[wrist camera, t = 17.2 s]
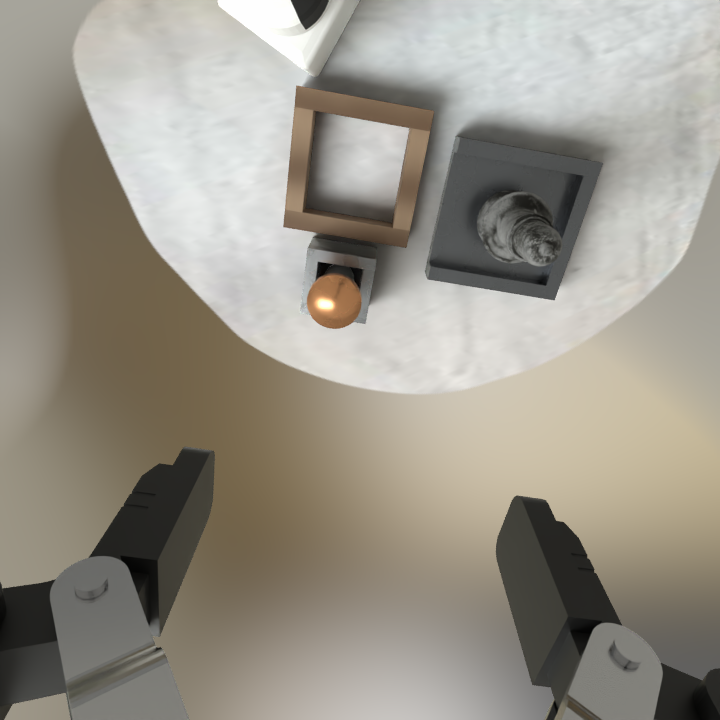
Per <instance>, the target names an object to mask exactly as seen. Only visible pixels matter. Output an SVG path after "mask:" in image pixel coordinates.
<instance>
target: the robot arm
mask: <svg viewBox="0 0 720 720" xmlns="http://www.w3.org/2000/svg"><path fill="white" fill-rule="evenodd" d="M214 461H215V455H214V451H211V450H204V449H197V448H191V447H184V448H183V449H182V451H181V453H180V454H179V456H178V457H177V459H176V461H175V463H174V464H173V465H166V464H158V465H157V466H155V467H154V468H152V469H151V470H149V471H148V472H147V473H145V474H144V475H142V477H141V478H140V480H139V481H138V483H137V485H136V486H135V488H134V489H133V491H132V494H130V495H129V497H128V498H127V500H126V502H125V503H124V506H123V507H122V508H121V509H120V511H119V512H118V514H117V515H116V517H115V518H114V520H113V522H112V523H111V525H110V526H109V528H108V529H107V531H106V532H105V534H104V535H103V537H102V538H101V540H100V542H99V543H98V545H97V546H96V548H95V549H94V551H93V552H92V554H91V555H90V557H89V558H87V559H84V560H81V561H78V562H77V563H75V564H73V565H71V566H70V567H68V568H67V569H65V570H64V571H63V572H62V573H61V574H60V575H59V576H58V577H57V578H56V579H55V580H52V581H48V582H44V583H39V584H32V585H24V586H17V587H10V588H3V589H2V585H1V583H0V720H4V719H5V716H6V715H7V713H8V711H9V710H10V708H11V706H12V704H14V703H19V702H24V701H28V700H33V699H38V698H43V697H47V696H52V695H56V694H61V693H66V697H67V702H68V707H69V712H70V718H71V720H189V717H188V714H187V712H186V709H185V706H184V704H183V701H182V698H181V695H180V693H179V690H178V687H177V684H176V682H175V679H174V676H173V673H172V670H171V667H170V665H169V662H168V660H167V657H166V655H165V653H164V651H163V649H162V648H161V647H160V648H157V647H156V645H155V642H154V640H153V637H152V636H158V637H159V636H160V634H161V632H162V630H163V627H164V625H165V622H166V620H167V618H168V615H169V613H170V610H171V608H172V605H173V603H174V601H175V598H176V596H177V593H178V591H179V589H180V586H181V584H182V581H183V579H184V577H185V574H186V572H187V569H188V567H189V564H190V562H191V560H192V557H193V555H194V552H195V550H196V547H197V545H198V543H199V540H200V538H201V535H202V533H203V530H204V528H205V526H206V523H207V520H208V518H209V515H210V511H211V506H212V501H213V485H214ZM496 557H497V562H498V566H499V569H500V573H501V576H502V580H503V584H504V587H505V590H506V594H507V598H508V601H509V605H510V608H511V612H512V615H513V619H514V622H515V626H516V629H517V633H518V636H519V640H520V643H521V646H522V650H523V654H524V657H525V661H526V664H527V668H528V671H529V675H530V678H531V682H532V685H536V686H545V687H551V689H552V693H553V696H554V700H553V702H552V704H551V705H550V707H549V710H548V712H547V715H546V717H545V719H544V720H720V669H713V670H711V671H710V672H708V674H707V675H706V676H705V677H704V679H703V680H700V679H697V678H695V677H692V676H690V675H688V674H685V673H683V672H681V671H678V670H676V669H673V668H671V667H669V666H667V665H664V664H662V663H660V661H659V659H658V657H657V655H656V654H655V652H654V651H653V649H652V648H651V647H650V646H649V645H648V644H647V643H646V641H645V640H643V639H642V638H641V637H640V636H639V635H637V634H636V633H634V632H633V631H631V630H630V629H628V628H626V627H624V626H622V624H621V622H620V620H619V618H618V616H617V614H616V612H615V610H614V608H613V606H612V604H611V602H610V600H609V598H608V596H607V594H606V592H605V590H604V588H603V586H602V584H601V582H600V580H599V578H598V576H597V574H596V573H594V568H593V566H592V564H591V562H590V560H589V559H587V554H586V552H585V550H584V548H583V546H582V544H581V542H580V540H579V538H578V537H577V536H576V535H575V534H574V533H573V531H572V530H571V529H570V528H569V527H568V526H567V525H566V524H565V523H564V522H559V521H556V520H555V518H554V515H553V514H552V511H551V509H550V507H549V505H548V503H547V502H546V500H543V499H537V498H530V497H523V496H515V497H514V499H513V500H512V502H511V504H510V507H509V510H508V513H507V515H506V517H505V520H504V523H503V525H502V528H501V530H500V533H499V535H498V539H497V544H496Z"/></svg>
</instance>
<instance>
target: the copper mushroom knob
mask: <svg viewBox="0 0 720 720" xmlns="http://www.w3.org/2000/svg"><path fill="white" fill-rule="evenodd" d="M361 303H362V297H361V292H360V289H359V287H358V286H357V284H356V283H355V282H354V274H353V272H352V270H351V269H350V268H349V267H348V266H342V265H336V264H334V265H332V266H330V267H329V268H328V269H327V270H326V272H325V275H323V276H321V277H319V278H318V279H317V280H316V281H315V282H314V283H313V284H312V286H311V288H310V290H309V293H308V296H307V307H308V311H309V313H310V315H311V316H312V318H313V319H314V320H315V321H316V322H317V323H319V324H320V325H322V326H324V327H327V328H333V329H337V328H343V327H346V326H348V325H349V324H351V323H352V322H353V321H354V320H355V319H356V318H357V317H358V315H359V313H360V310H361Z"/></svg>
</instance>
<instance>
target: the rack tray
mask: <svg viewBox="0 0 720 720" xmlns="http://www.w3.org/2000/svg"><path fill="white" fill-rule="evenodd" d="M602 165H603V163H600V162H595V161H589V160H584V159H578V158H573V157H567V156H562V155H556V154H551V153H545V152H540V151H534V150H529V149H523V148H518V147H512V146H507V145H501V144H496V143H490V142H485V141H479V140H474V139H468V138H463V137H457V136H456V137H455V141H454V146H453V150H452V155H451V159H450V164H449V168H448V172H447V177H446V181H445V186H444V190H443V194H442V199H441V203H440V208H439V212H438V217H437V221H436V225H435V230H434V234H433V239H432V243H431V247H430V252H429V256H428V261H427V265H426V270H425V273H426V276H427V279H429V280H435V281H441V282H447V283H453V284H459V285H465V286H472V287H478V288H484V289H490V290H496V291H502V292H508V293H514V294H520V295H526V296H532V297H538V298H544V299H550V300H555V297H556V295H557V292H558V289H559V286H560V283H561V280H562V278H563V275H564V272H565V269H566V266H567V263H568V261H569V258H570V255H571V252H572V249H573V247H574V244H575V241H576V238H577V235H578V232H579V230H580V227H581V224H582V221H583V218H584V215H585V213H586V210H587V207H588V204H589V201H590V199H591V196H592V193H593V190H594V187H595V184H596V182H597V179H598V176H599V173H600V170H601V167H602ZM504 190H515V191H520V192H521V191H525V192H530V193H534V194H536V195H537V196H539V197H541V198H542V199H543V200H544V201H545V202H546V203H547V204H548V206H549V208H550V210H551V212H552V217H553V228H554V229H555V230H556V231H557V232H558V233H559V235H560V237H561V239H562V250H561V253H560V255H559V256H558V258H557V259H556V260H555V261H554V262H552V263H551V264H549V265H546V266H534V265H532V264H530V263H528V262H520V263H506V262H501V261H499V260H497V259H495V258H494V257H493V256H492V255H491V254H490V253H489V252H488V251H487V250H486V248H485V246H484V244H483V241H482V239H481V237H480V236H479V233H478V229H477V218H478V215H479V211H480V209H481V208H482V206H483V204H484V203H485V202H486V201H487V200H488V199H489V198H490V197H491V196H493V195H494V194H496V193H499V192H501V191H504Z"/></svg>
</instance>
